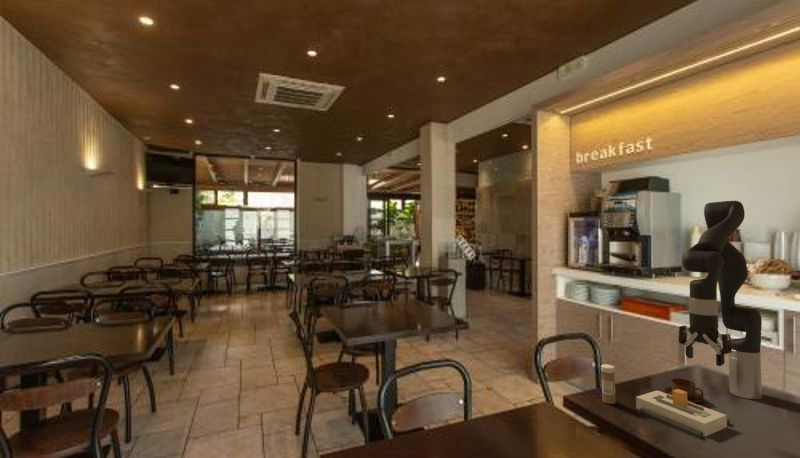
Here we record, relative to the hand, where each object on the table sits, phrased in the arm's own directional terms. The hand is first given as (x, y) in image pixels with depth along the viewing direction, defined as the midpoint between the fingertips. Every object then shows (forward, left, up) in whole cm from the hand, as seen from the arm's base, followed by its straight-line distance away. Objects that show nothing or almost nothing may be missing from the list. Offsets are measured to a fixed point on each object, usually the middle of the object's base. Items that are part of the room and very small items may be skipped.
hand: (704, 361), depth 127 cm
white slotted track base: (+1, -6, -21) cm, 22 cm away
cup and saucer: (-15, -15, -21) cm, 30 cm away
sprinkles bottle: (+12, -26, -21) cm, 36 cm away
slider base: (+2, -7, -21) cm, 22 cm away
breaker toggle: (+2, -7, -17) cm, 18 cm away
